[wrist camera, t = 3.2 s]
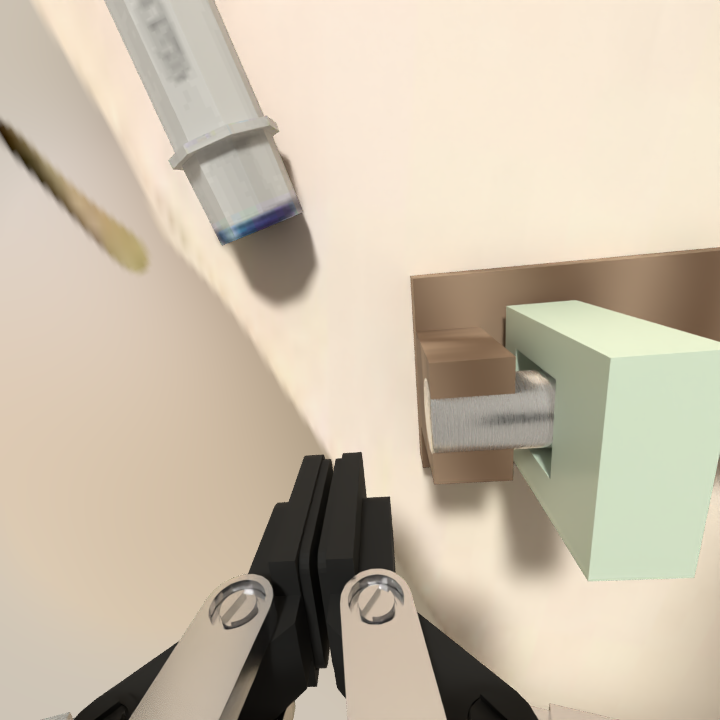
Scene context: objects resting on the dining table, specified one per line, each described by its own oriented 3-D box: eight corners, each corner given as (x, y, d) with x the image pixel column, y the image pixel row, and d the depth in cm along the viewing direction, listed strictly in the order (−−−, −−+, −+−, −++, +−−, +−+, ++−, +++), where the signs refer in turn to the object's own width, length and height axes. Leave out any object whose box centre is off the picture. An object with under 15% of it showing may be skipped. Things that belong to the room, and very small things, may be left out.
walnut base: (420, 452, 22) (436, 536, 16) (410, 276, 19) (426, 292, 13) (877, 426, 20) (1100, 508, 14) (942, 226, 17) (1263, 217, 11)
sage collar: (503, 444, 19) (588, 581, 11) (505, 306, 17) (610, 357, 9) (565, 441, 19) (694, 578, 11) (575, 299, 17) (741, 348, 9)
